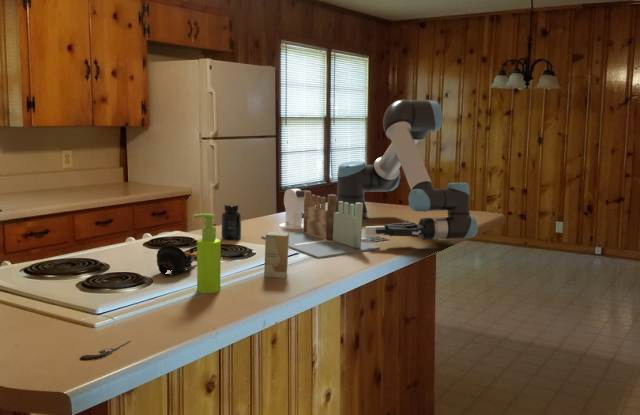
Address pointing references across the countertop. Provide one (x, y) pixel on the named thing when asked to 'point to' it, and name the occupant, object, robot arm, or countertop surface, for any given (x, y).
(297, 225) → the panda figurine
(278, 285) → the countertop surface
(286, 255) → the skincare box
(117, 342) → the countertop surface
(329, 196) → the fence fixed
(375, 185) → the robot arm
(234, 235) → the supplement bottle
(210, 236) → the soap dispenser
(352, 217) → the fence panel
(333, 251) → the card
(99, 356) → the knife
